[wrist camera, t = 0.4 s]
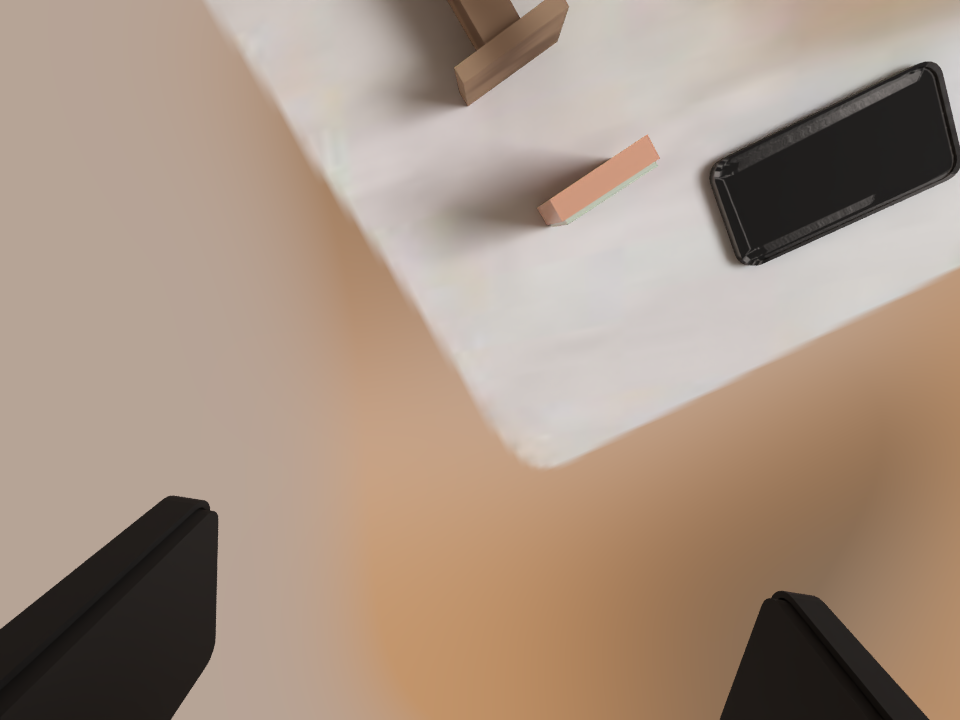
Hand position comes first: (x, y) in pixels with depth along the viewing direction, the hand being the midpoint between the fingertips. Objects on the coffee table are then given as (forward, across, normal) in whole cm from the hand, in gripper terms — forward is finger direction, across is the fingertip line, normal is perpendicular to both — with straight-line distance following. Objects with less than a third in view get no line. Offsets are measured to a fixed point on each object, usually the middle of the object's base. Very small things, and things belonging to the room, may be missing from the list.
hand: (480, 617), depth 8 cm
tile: (+29, -5, -10) cm, 31 cm away
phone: (+30, -21, -14) cm, 39 cm away
